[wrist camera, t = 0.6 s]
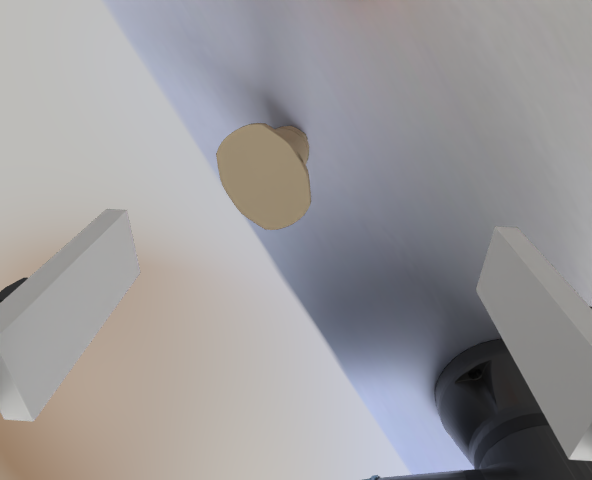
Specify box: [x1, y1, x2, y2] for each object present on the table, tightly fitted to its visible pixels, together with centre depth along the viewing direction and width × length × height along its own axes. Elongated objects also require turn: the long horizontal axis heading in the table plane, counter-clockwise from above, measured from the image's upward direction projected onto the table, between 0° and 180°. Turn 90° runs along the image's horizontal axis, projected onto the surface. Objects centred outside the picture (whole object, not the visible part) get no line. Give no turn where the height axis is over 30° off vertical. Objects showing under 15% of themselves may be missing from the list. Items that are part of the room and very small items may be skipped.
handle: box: [216, 123, 311, 230], centre depth 30 cm, size 5×6×15 cm
